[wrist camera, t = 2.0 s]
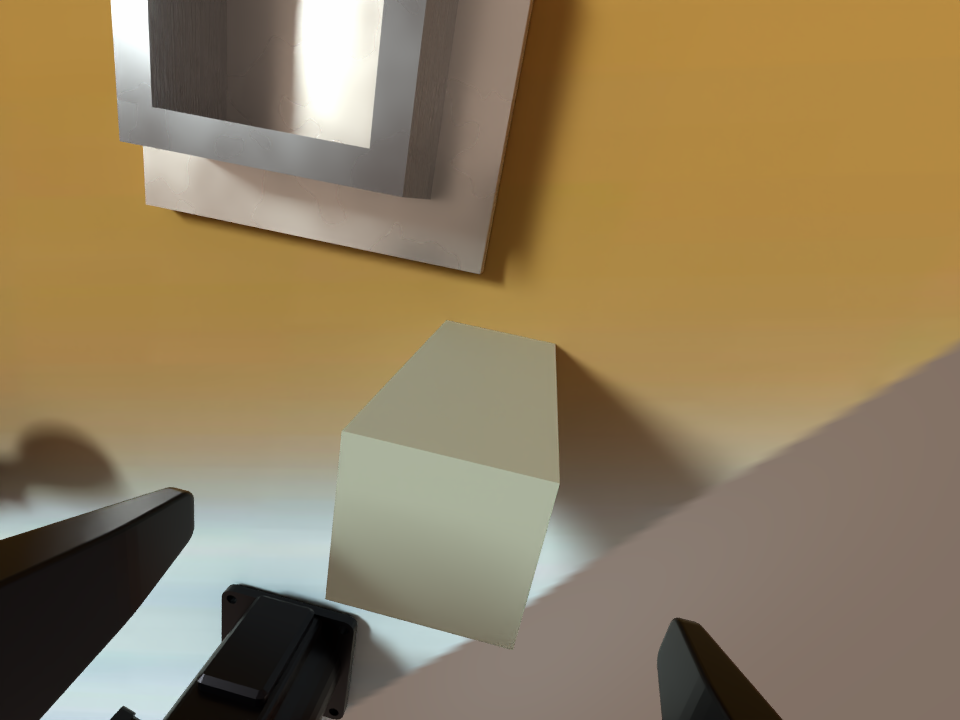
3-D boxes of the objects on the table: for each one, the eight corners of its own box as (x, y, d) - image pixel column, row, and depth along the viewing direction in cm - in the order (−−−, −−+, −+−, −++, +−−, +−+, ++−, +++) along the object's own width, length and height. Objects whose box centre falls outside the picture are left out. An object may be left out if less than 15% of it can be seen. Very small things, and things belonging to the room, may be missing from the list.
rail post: (530, 441, 18) (512, 649, 9) (430, 418, 18) (325, 599, 10) (555, 343, 17) (559, 483, 8) (446, 319, 17) (341, 430, 8)
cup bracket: (483, 271, 16) (464, 288, 13) (163, 204, 17) (61, 203, 14) (567, -182, 12) (574, -343, 9) (147, -237, 13) (-3, -403, 10)
